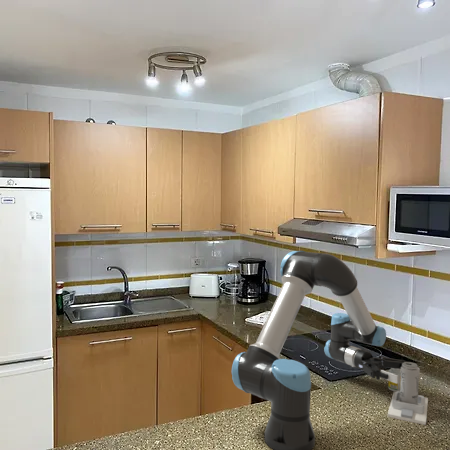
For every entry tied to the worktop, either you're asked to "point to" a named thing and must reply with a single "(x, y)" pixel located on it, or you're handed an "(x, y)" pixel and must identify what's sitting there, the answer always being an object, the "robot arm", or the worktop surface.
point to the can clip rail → (408, 409)
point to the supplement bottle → (395, 386)
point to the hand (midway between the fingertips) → (408, 375)
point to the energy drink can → (409, 383)
